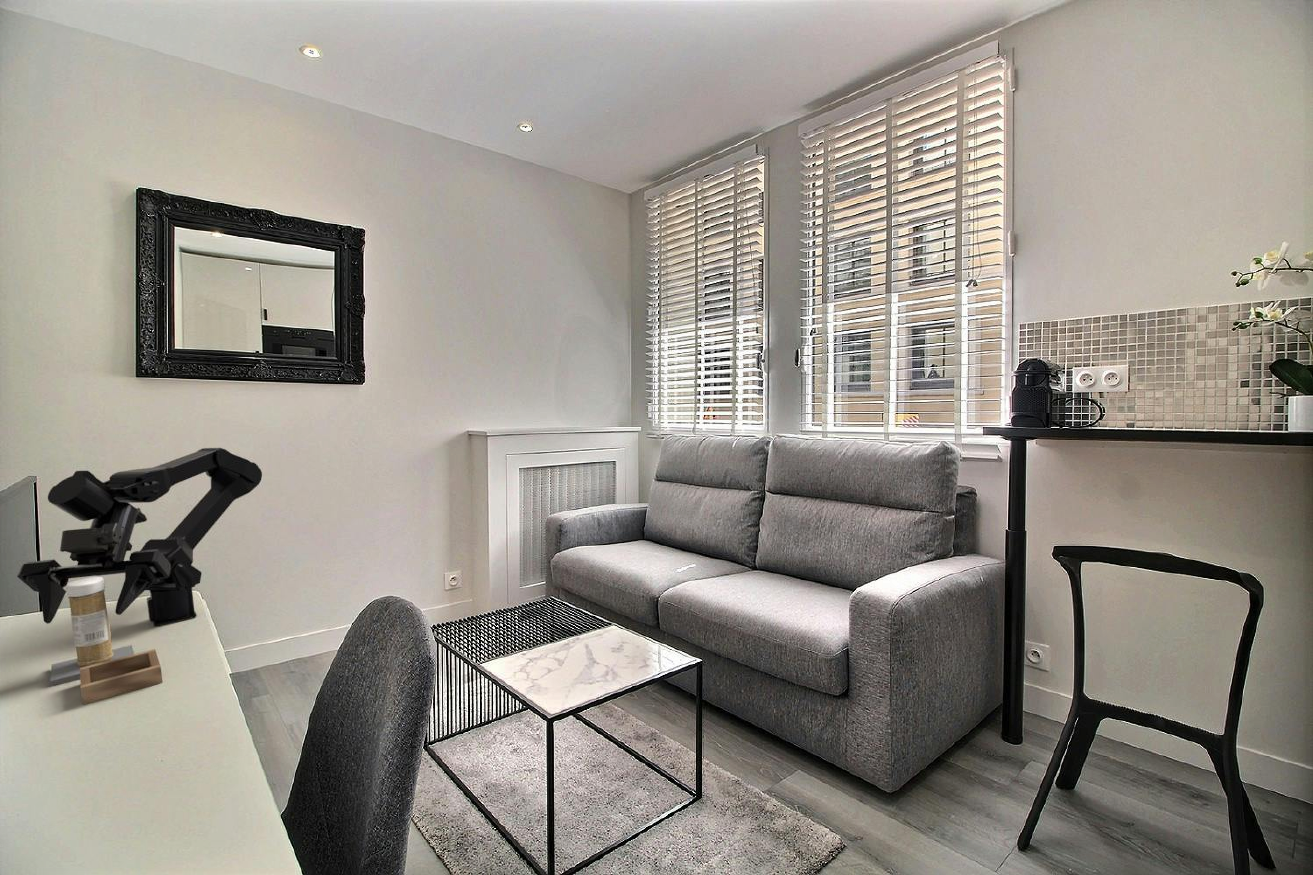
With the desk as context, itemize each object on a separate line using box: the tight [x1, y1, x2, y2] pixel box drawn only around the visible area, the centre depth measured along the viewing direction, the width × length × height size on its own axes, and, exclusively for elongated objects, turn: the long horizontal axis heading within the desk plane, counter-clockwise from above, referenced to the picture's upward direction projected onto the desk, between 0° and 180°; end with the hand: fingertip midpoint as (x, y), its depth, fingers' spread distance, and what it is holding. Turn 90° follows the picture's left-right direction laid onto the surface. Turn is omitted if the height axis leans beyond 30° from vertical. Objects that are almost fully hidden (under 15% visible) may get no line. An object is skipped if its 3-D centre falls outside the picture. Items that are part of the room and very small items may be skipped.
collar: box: [79, 648, 164, 705], centre depth 96 cm, size 9×9×2 cm
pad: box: [49, 644, 135, 687], centre depth 102 cm, size 10×8×1 cm
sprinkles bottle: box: [65, 576, 114, 666], centre depth 102 cm, size 5×5×13 cm
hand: (82, 617), depth 100 cm, fingers open, 9 cm apart
